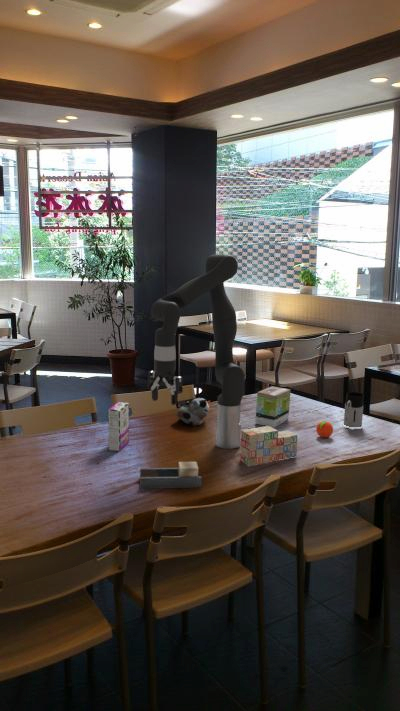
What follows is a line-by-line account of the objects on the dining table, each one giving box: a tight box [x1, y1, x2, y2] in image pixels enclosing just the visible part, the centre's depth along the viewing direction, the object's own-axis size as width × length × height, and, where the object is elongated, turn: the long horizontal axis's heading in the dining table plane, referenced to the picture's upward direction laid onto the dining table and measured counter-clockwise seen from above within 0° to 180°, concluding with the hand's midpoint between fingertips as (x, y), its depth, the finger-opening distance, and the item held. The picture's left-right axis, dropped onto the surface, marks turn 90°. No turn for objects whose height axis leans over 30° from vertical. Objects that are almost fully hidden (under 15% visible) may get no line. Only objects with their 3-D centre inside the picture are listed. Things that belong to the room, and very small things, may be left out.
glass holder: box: [343, 391, 365, 427], centre depth 266 cm, size 9×14×15 cm, turn 148°
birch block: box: [178, 461, 199, 477], centre depth 204 cm, size 6×6×5 cm
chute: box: [139, 467, 202, 490], centre depth 204 cm, size 20×9×4 cm, turn 96°
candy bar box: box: [107, 401, 130, 452], centre depth 236 cm, size 11×5×16 cm, turn 168°
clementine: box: [316, 420, 334, 438], centre depth 254 cm, size 8×7×7 cm
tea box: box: [254, 386, 291, 428], centre depth 273 cm, size 15×10×15 cm, turn 148°
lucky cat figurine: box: [173, 397, 211, 427], centre depth 269 cm, size 15×12×14 cm
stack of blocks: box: [239, 426, 298, 467], centre depth 227 cm, size 21×6×12 cm, turn 117°
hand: (164, 402), depth 216 cm, fingers open, 8 cm apart
